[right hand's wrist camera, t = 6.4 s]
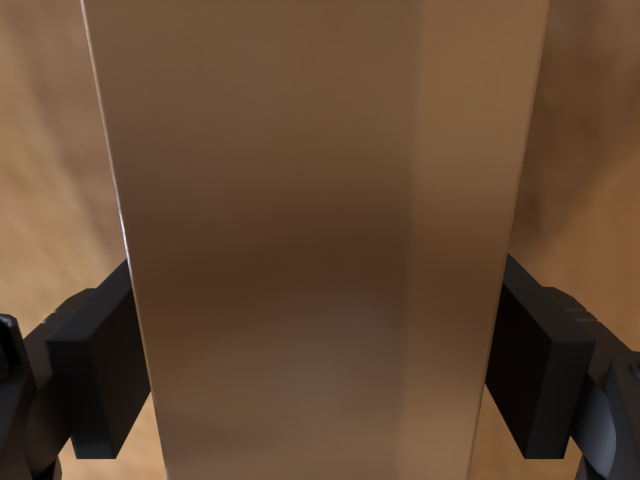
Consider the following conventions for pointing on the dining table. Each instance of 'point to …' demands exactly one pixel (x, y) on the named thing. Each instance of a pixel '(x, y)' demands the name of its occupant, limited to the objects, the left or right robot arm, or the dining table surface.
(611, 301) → the dining table surface
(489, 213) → the bar
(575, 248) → the dining table surface
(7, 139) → the dining table surface
